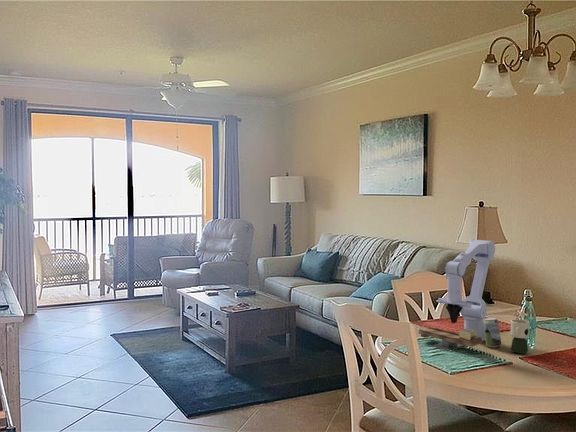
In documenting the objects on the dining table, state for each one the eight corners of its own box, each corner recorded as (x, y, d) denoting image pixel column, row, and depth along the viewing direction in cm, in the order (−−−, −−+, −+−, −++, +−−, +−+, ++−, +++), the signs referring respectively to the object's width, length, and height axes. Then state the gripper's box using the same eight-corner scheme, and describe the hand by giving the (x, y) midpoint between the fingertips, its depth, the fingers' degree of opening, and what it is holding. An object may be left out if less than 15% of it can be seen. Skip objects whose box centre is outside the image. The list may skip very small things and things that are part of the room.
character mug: (526, 357, 220) (527, 325, 219) (507, 354, 224) (507, 322, 223) (531, 350, 229) (532, 319, 229) (512, 348, 233) (513, 317, 232)
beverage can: (498, 349, 230) (499, 321, 230) (480, 346, 235) (481, 318, 234) (503, 346, 235) (503, 318, 235) (485, 343, 240) (486, 315, 239)
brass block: (476, 340, 228) (477, 330, 228) (470, 342, 225) (470, 332, 225) (465, 337, 232) (466, 328, 232) (459, 340, 229) (459, 330, 228)
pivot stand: (466, 345, 236) (466, 338, 236) (449, 351, 228) (449, 344, 227) (449, 341, 242) (449, 334, 242) (432, 347, 234) (432, 340, 233)
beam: (482, 346, 228) (483, 336, 228) (471, 350, 223) (471, 340, 222) (430, 333, 247) (430, 324, 247) (418, 336, 241) (418, 327, 241)
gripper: (434, 288, 235) (433, 320, 236) (465, 294, 225) (464, 327, 225) (443, 286, 240) (442, 318, 241) (474, 291, 229) (473, 324, 230)
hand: (453, 322), depth 234 cm, fingers closed
